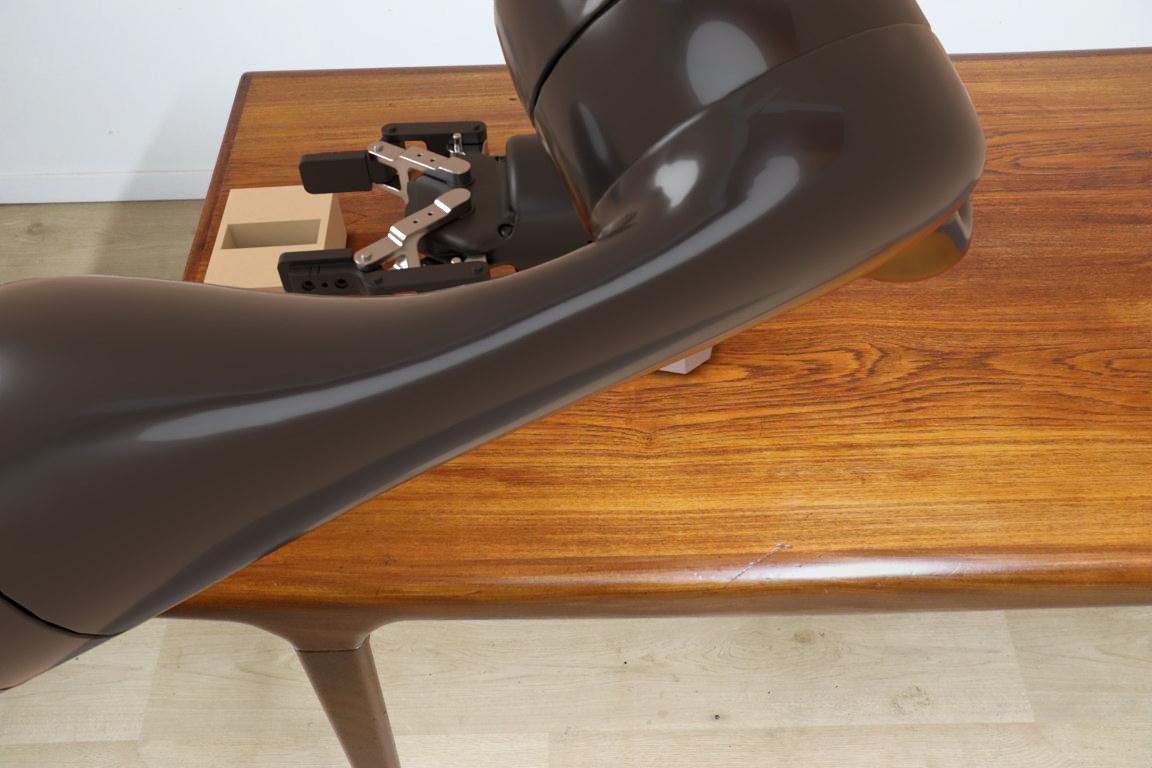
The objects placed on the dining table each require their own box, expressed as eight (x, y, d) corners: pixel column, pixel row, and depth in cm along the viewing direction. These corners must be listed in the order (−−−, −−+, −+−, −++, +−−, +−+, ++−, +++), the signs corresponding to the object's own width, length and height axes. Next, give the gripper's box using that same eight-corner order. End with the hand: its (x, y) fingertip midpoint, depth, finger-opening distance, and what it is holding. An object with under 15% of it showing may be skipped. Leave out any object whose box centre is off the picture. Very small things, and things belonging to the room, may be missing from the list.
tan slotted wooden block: (333, 336, 81) (318, 283, 77) (222, 343, 81) (200, 290, 76) (347, 229, 91) (335, 176, 87) (249, 234, 91) (232, 182, 87)
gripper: (586, 70, 53) (291, 87, 52) (613, 228, 43) (252, 251, 42) (587, 183, 58) (320, 200, 57) (612, 346, 48) (292, 368, 48)
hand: (292, 222), depth 50 cm, fingers open, 8 cm apart
